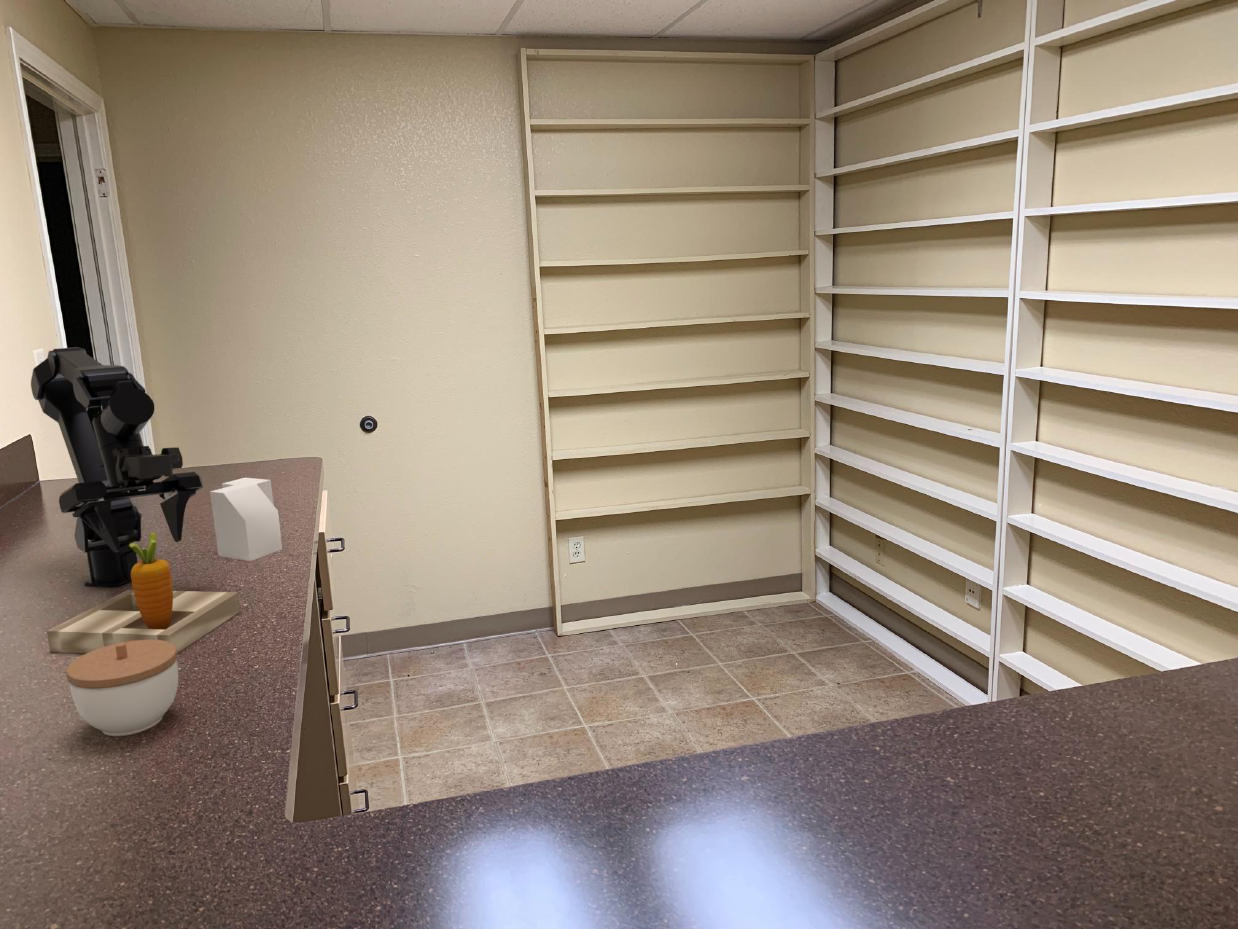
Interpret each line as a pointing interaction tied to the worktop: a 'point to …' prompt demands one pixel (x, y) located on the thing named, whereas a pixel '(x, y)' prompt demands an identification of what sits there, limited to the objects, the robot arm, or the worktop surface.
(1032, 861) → the worktop surface
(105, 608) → the socket board
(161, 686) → the lidded jar
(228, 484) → the white angular block
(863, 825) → the worktop surface
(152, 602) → the carrot
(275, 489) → the worktop surface
